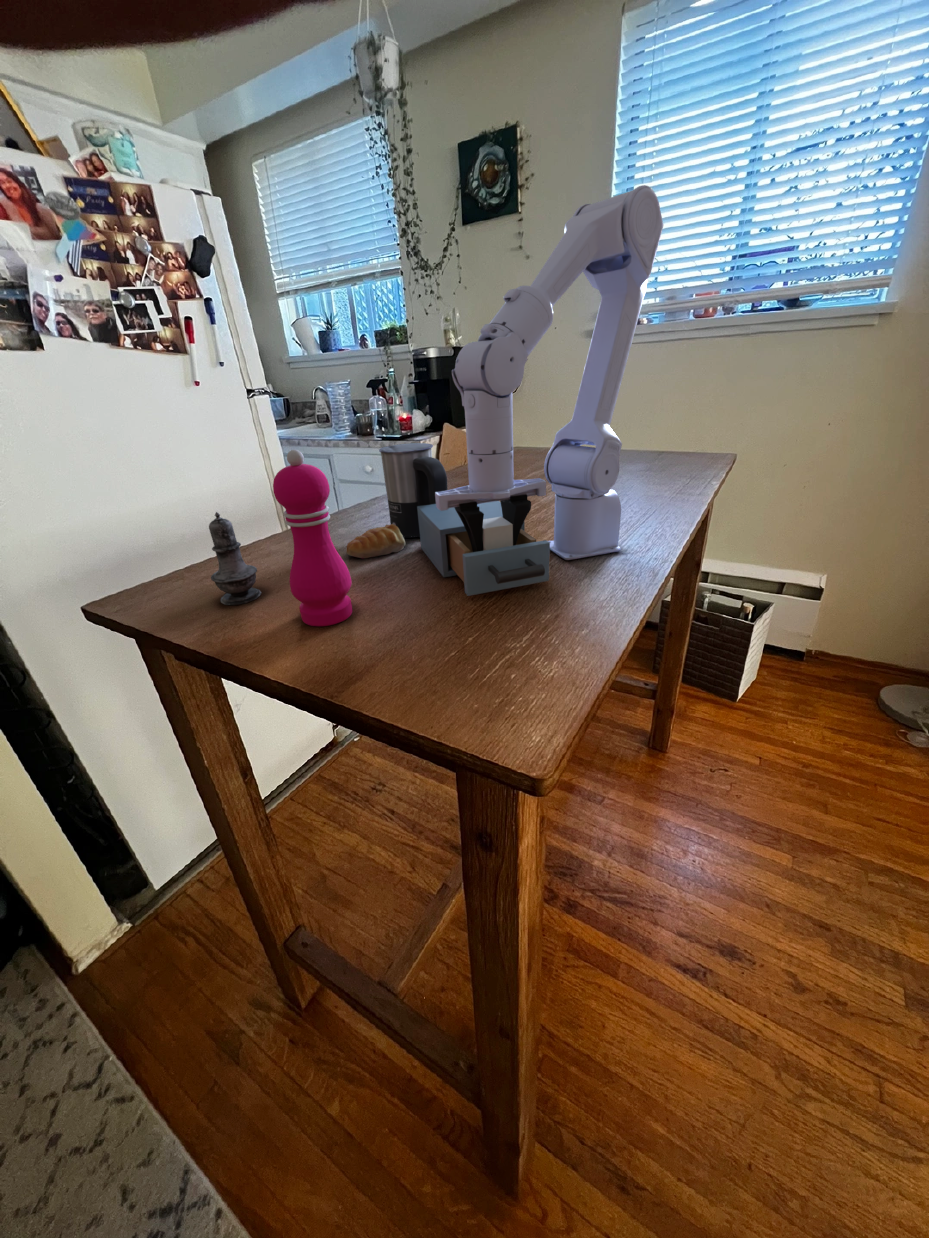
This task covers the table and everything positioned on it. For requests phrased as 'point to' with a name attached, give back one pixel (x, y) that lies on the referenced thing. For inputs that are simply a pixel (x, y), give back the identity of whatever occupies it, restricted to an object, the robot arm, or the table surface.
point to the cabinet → (446, 531)
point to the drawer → (498, 563)
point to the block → (497, 533)
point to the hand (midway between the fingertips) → (493, 554)
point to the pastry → (377, 542)
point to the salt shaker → (231, 565)
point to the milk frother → (411, 483)
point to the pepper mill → (312, 544)
